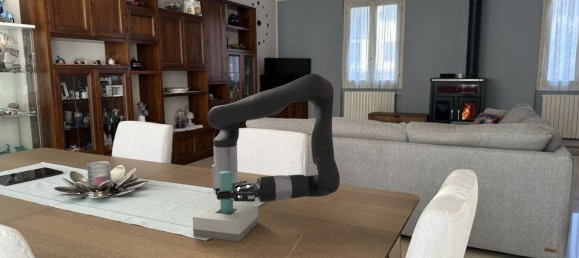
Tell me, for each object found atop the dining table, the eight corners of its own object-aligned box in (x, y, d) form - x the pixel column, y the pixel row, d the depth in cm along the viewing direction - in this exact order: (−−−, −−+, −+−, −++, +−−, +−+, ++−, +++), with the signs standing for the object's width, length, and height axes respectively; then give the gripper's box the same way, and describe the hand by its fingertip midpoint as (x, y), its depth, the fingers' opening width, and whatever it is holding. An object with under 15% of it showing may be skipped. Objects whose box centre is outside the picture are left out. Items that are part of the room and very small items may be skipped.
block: (193, 235, 109) (192, 216, 108) (216, 218, 122) (216, 201, 121) (239, 241, 105) (238, 222, 104) (258, 222, 118) (257, 205, 117)
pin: (218, 220, 112) (217, 173, 110) (224, 216, 115) (222, 170, 113) (230, 222, 111) (228, 174, 109) (235, 217, 114) (234, 171, 112)
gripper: (268, 170, 122) (213, 175, 117) (280, 182, 109) (218, 187, 104) (269, 193, 123) (214, 198, 118) (280, 207, 110) (219, 214, 105)
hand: (216, 193), depth 111 cm, fingers closed on pin, 3 cm apart
